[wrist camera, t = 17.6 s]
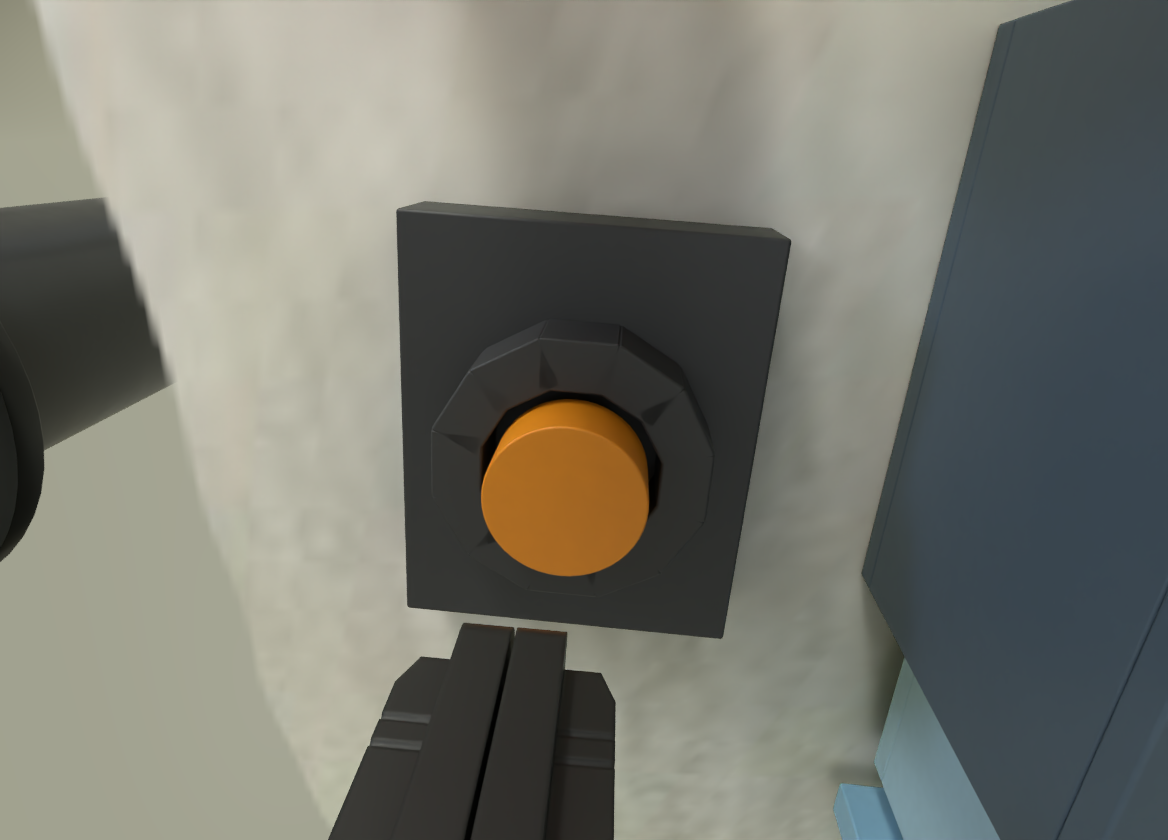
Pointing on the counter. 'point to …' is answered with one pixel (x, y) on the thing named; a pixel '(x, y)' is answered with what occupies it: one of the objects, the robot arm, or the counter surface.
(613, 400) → the block
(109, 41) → the counter surface
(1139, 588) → the grey drawer cabinet
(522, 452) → the button
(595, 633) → the counter surface
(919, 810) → the light blue drawer
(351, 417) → the counter surface
